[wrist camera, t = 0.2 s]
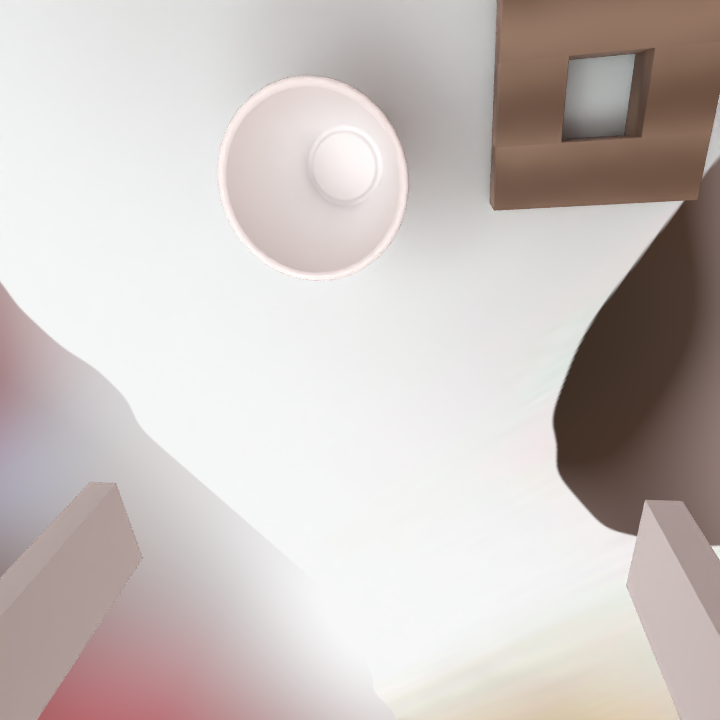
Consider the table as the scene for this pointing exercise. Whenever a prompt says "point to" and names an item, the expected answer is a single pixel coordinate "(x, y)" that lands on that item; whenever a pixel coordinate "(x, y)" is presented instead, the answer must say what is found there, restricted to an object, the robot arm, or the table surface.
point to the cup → (313, 177)
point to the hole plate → (645, 111)
